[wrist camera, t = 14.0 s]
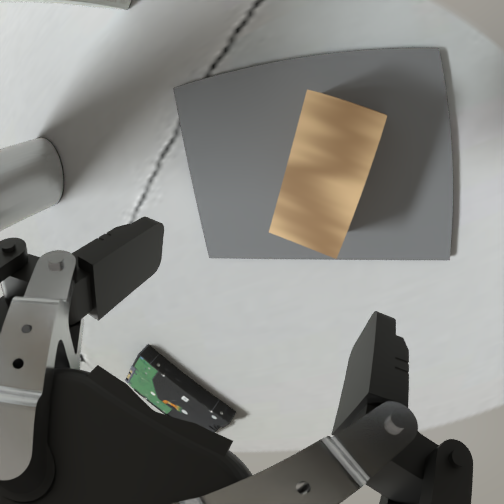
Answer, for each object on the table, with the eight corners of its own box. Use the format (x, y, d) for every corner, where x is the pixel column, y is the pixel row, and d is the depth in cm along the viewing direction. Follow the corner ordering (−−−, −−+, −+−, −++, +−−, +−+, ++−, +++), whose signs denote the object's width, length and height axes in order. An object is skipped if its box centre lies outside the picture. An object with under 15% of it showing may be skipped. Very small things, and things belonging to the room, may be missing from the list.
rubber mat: (212, 255, 29) (209, 257, 29) (177, 88, 24) (173, 88, 23) (448, 256, 21) (449, 260, 21) (437, 49, 15) (438, 48, 15)
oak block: (268, 232, 20) (307, 89, 16) (288, 210, 24) (321, 92, 19) (336, 259, 19) (387, 115, 15) (345, 232, 23) (385, 114, 18)
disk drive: (239, 407, 39) (148, 340, 40) (230, 423, 37) (136, 353, 38) (209, 428, 45) (132, 371, 46) (201, 441, 43) (122, 383, 43)
